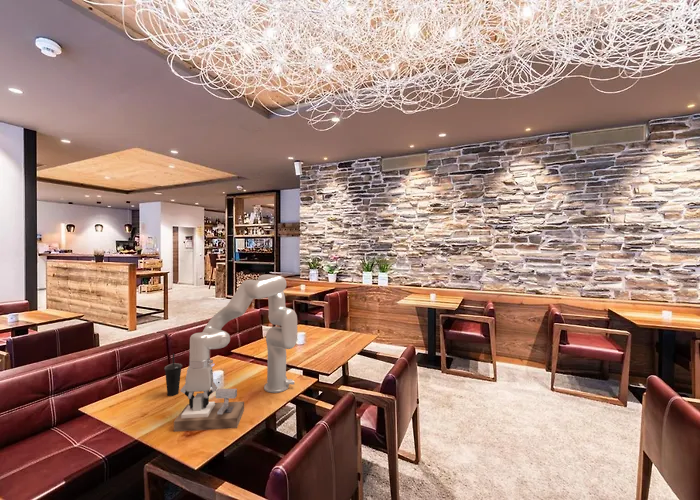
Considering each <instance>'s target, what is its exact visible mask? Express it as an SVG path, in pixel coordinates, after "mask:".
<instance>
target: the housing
mask: <svg viewBox="0 0 700 500" xmlns="http://www.w3.org/2000/svg"><path fill="white" fill-rule="evenodd" d="M223 404H224V401H223V402H215V406H214V407H213V409H212V411H211V412H210V414H209V416H208V417H200V418H181V415H182V413H183V412H184V411H185V409H186V408H187V407H188V406H189V403H187V404H186V406H185V407H184V408H182V409H183V410H182V411H181V412H180V413H179V414H178V416H177V417H176V418H175V419H174V421H173V432H175V433H176V432H187V431H188V432H190V431H193V432H194V431H208V430H225V429H226V430H227V429H238V426H239V424H240V423H241V422H240V421H241V420H242V417H243V414H244V412H245V401H229V408H228V409H227V410H225V411H224V413H223V414H217V412H218V410H219V409H220V408H221V407H222V405H223Z"/></svg>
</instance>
